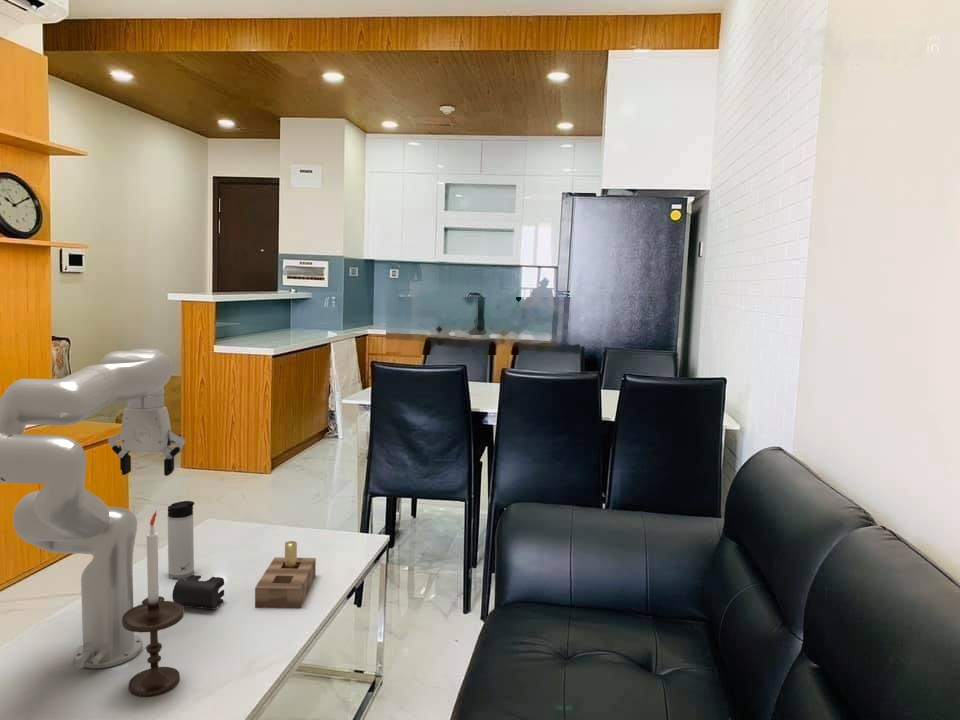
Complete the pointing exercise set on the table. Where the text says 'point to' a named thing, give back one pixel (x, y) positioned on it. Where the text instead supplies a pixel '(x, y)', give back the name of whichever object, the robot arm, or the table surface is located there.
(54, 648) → the table surface
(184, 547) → the travel mug
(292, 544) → the brass peg
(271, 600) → the hole block
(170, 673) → the candlestick
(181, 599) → the end cap
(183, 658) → the table surface
